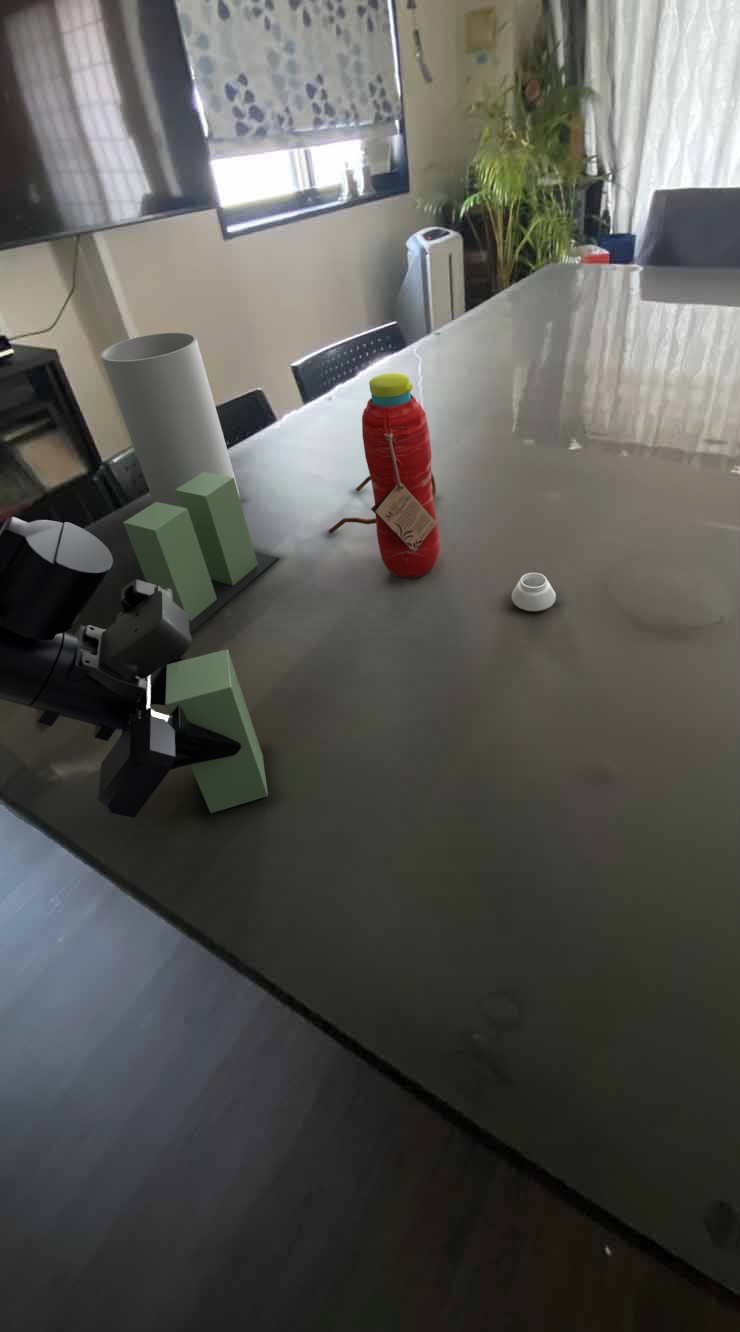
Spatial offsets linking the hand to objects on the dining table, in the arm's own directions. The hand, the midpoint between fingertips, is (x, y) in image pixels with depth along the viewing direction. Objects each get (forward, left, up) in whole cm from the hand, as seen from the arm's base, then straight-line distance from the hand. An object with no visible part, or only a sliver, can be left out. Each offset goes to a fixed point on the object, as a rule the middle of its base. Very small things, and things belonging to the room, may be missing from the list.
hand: (235, 727), depth 58 cm
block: (-1, +1, -7) cm, 7 cm away
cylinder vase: (+30, +48, -7) cm, 57 cm away
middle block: (+13, +27, -6) cm, 31 cm away
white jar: (+36, -8, -7) cm, 37 cm away
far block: (+21, +29, -6) cm, 36 cm away
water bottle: (+33, +8, -7) cm, 34 cm away
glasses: (+43, +21, -7) cm, 48 cm away
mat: (+13, +27, -7) cm, 31 cm away
